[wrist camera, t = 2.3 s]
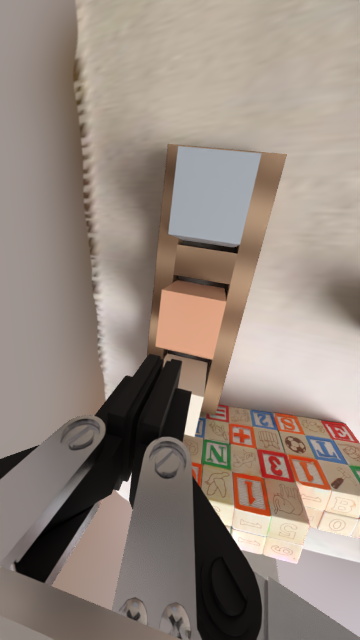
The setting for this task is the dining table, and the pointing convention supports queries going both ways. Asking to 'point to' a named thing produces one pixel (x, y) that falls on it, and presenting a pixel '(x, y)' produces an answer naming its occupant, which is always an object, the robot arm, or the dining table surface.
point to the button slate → (212, 195)
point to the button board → (215, 265)
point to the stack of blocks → (277, 477)
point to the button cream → (191, 388)
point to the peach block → (190, 318)
